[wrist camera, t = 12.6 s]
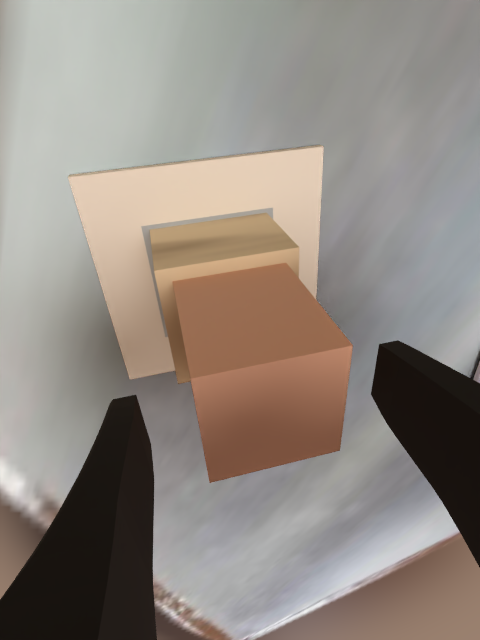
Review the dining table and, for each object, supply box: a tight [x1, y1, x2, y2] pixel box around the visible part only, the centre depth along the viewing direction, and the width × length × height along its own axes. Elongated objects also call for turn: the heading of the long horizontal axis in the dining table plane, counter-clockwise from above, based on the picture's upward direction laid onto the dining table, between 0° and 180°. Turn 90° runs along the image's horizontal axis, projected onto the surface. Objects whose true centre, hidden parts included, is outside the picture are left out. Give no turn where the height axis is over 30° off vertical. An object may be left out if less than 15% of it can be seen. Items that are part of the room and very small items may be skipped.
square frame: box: [68, 145, 324, 380], centre depth 18 cm, size 10×10×1 cm
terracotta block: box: [172, 263, 353, 483], centre depth 12 cm, size 4×4×5 cm
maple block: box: [150, 213, 299, 384], centre depth 16 cm, size 5×5×4 cm
